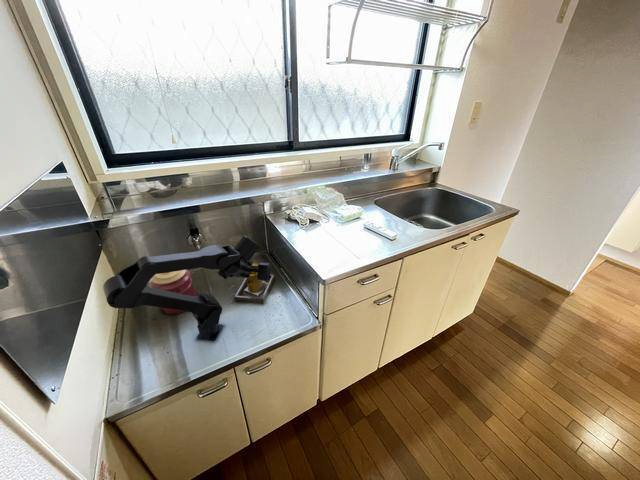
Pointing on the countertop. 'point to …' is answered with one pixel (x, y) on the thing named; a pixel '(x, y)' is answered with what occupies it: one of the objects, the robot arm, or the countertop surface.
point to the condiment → (255, 283)
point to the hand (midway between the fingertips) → (252, 272)
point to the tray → (253, 299)
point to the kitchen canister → (174, 285)
